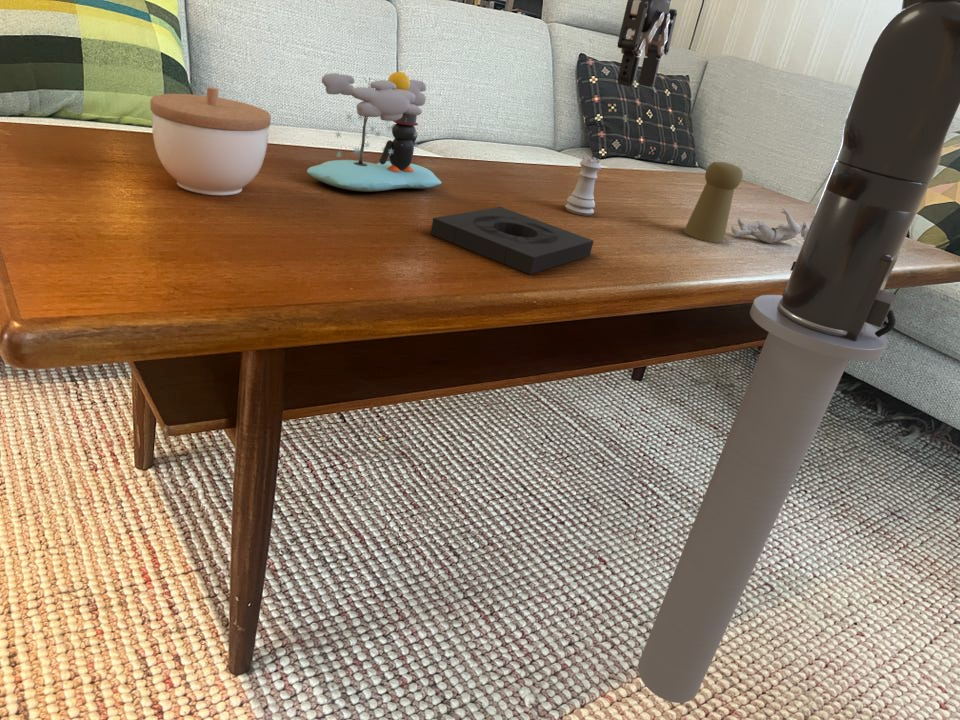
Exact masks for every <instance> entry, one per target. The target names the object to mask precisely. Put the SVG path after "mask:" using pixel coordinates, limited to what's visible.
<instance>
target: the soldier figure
mask: <svg viewBox="0 0 960 720" xmlns="http://www.w3.org/2000/svg"><path fill="white" fill-rule="evenodd" d="M780 210H782V211H781V213H782V214H784V215H786V216H785V218H786V221H787V224H778V226H774V227H770V226H769V225H768V224H766V222H764V221H763V220H757V221H754V222H750V223H745V222H744V221H743V220H742V218H741V217H738V219H737V225H738V227H739V229H740V230H739V229H737V228H735V226H734V225H731V227H730V230H731V233H732V234H733V237H734V238H739V237H740V236H743V237H745V236H752V237H754V238H756V239H757V240H760V241H762V242H764V243H767V244H772V243H777V242H778V243H779V242H784V241H785V242H786V241H789V240H792V239H794V238H796V236H798V235H799V234H800V235H801V237H802V238H803V241H804V240H805V238H806V235H807V233H808V230H809V228H810V224H809V223H808V222H806V221H803V222H802V224H798V223H796V221H795V220H794V218H793V217H792V216H791V214H790V213H789V211H788V210H787V209H786V208H784V207H780Z"/></svg>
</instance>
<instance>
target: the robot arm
mask: <svg viewBox="0 0 960 720" xmlns="http://www.w3.org/2000/svg"><path fill="white" fill-rule="evenodd" d="M671 1H672V0H627V2H626V6H625V10H624V15H623V19H622V23H621V28H620V30H619V31H620V32H619V36H618V40H617V48H618V49H620V50H621V55H622V58H621V61H620V66H619V72H618V76H617V81H616V82H617V84H618V85H621V86H627V87H633V86H634V84H635V82H636V77H637V73H638V69H639V64H640V59H641V55H642V53H643V51H644V57H643V59H642V65H641V69H640V73H639V77H638V84H639V85H640V86H643V87H649V88H650V87H654V85H655V84H656V80H657V75H658V70H659V66H660V62H661V60H663V58H664V56H667V55H668V54H669V52H670V46H671V41H672V37H673V33H674V28H675V24H676V19H677V16H678V9H674V8H671ZM959 107H960V0H902V3H901V9H900V11H899V12H898V13H897V14H896V15H895V16H893V17H892V18H891V19H890V20H889V21H888V22H887V24H886V25H885V26H884V27H883V28H882V30H881V32H880V33H879V34H878V37H877V38H876V40H875V43H874V45H873V47H872V49H871V51H870V54H869V56H868V58H867V61H866V62H865V66H864V69H863V70H862V74H861V77H860V79H859V82H858V85H857V88H856V91H855V93H854V97H853V98H852V101H851V105H850V107H849V110H848V113H847V116H846V118H845V122H844V125H843V132H842V142H841V146H840V149H839V152H838V153H837V154H838V155H837V156H836V160H835V162H834V164H833V167H832V168H831V172H830V175H829V177H828V180H827V182H826V184H825V187H824V190H823V192H822V194H821V198H820V200H819V203H818V205H817V207H816V210H815V213H814V216H813V218H812V220H811V222H810V224H809V226H810V228H809V230H808V233H807V235H806V238H805V240H804V239H803V244H802V245H801V248H800V250H799V254H798V255H797V258H796V260H795V261H793V262H792V264H791V268H790V272H791V274H790V275H789V279H788V282H787V283H786V286H785V288H784V290H783V292H782V299H781V300H780V301H779V304H778V307H777V309H778V311H779V312H780V313H781V314H782V315H783V316H785V317H786V318H788V319H789V320H791V321H793V322H795V323H797V324H799V325H801V326H804V327H806V328H809V329H811V330H814V331H817V332H820V333H824V334H828V335H832V336H837V337H843V338H847V339H850V340H852V341H857V340H858V338H859V337H860V336H862V334H863V332H864V330H865V329H866V326H867V324H870V325H871V326H873V327H878V328H880V329H877V330H878V331H876V332H875V335H876V336H877V337H880V336H882V335H884V336H885V335H886V334H888V333H890V332H891V331H892V330H893V329H894V328H895V326H896V321H897V320H896V315H895V313H894V310H892V308H893V306H894V304H895V302H896V300H897V298H898V294H895V293H892V292H889V291H886V290H884V289H885V288H886V284H887V283H888V280H889V279H890V276H891V274H892V271H893V270H894V267H895V265H896V263H897V261H898V258H899V257H900V254H901V252H900V250H901V248H902V245H903V244H904V241H905V240H906V237H907V235H908V233H909V230H910V228H911V226H912V224H913V221H914V219H915V217H916V215H917V213H918V211H919V208H920V206H921V204H922V202H923V200H924V198H925V195H926V193H927V191H928V188H929V187H930V183H931V182H932V180H933V179H934V176H935V173H936V171H937V169H938V167H939V165H940V163H941V160H942V159H941V158H942V151H943V147H944V144H945V141H946V137H947V135H948V132H949V130H950V127H951V125H952V122H953V121H954V117H955V116H956V113H957V111H958V109H959ZM886 320H887V324H886V325H885V326H883V324H884V323H885V321H886ZM882 326H883V327H882ZM881 327H882V328H881Z"/></svg>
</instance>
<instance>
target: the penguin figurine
mask: <svg viewBox="0 0 960 720" xmlns="http://www.w3.org/2000/svg"><path fill="white" fill-rule="evenodd" d="M377 79H378V77H377V78H376V79H375V80H374V81H371V78H368V80H369V81H368V82H367V80H366V79H364V81H365V82H367V84H368V85H369V87H368V86H367V87H362V86H359V87H354V86H353V85H354V83H355V78H354V77H353V76H352V75H349V74H340V73H338V72H337V73H336V72H335V73H334V72H333V73H332V72H330V73H326V74H324V75H323V76H322V78H321V83H322V84H323V86H324V87H325V93H326V94H328V95H343V96H351V97H353V98H355V99H357V100H359V102H358V103H357V104H356V114H357V115H358V117H357V119H358V120H363V126H362V132H361V133H362V134H361V144H360V148H359V146H357V147H354V149H353V150H352V153H354V155H359V160H357V159H356V160H355V159H354V160H353V159H340V157H343V156H342V154H343V152H341V150H338V152H336V155H335V157H337V158H339V159H336V160H335V159H334V160H328V161H325V162H321V163H320V164H317V165H313V166H310V167H308V168H307V169H306V172H307V174H308V176H310V177H311V178H313V179H315V180H317V181H319V182H322V183H324V184H326V185H328V186H331V187H335V188H338V189H341V190H347V191H353V192H364V193H365V192H371V193H372V192H384V191H390V190H391V191H392V190H398V189H421V190H422V189H430V188H433V187H437V186H440V185H441V184H442V181H441V180H440V179H439V178H438V177H437V176H436V175H435V174H434V172H433V171H431V170H430V169H428V168H426V167H424V166H421V165H418V164H416V163H412V162H413V159H414V158H413V157H414V152H415V150H416V148H418V147H419V144H417V143H416V141H417V138H418V137H419V133H418V131H417V129H416V126H419V124H418V123H417V117H418V116H419V115H421V114H422V113H423V110H422V109H421V106H425V104H426V100H427V98H426V95H425V94H424V93H423V92H425V91H426V90H427V86H426V83H425V82H424V81H422V80H417V79H410V78H409V76H408V75H407V74H406V73H404V72H402V71H395V72H393V73H391V74H390V75H389V76H388V79H382V80H377ZM370 81H371V82H370ZM352 84H353V85H352ZM379 117H380V120H381V121H385V122H386V123H387V124H388V123H390V122H393V123H392V124H388V126H387V128H386V129H385V131H387V132H391V134H392V137H393V138H394V139H393V140H387V141H386V142H385V145H384V147H383V148H382V154H381V156H380V158H379V162H377V163H373V162H370V161H369V162H368V161H364V151H365V147H366V148H369V146H370V145H371V143H370V142H369V141H366V139H367V138H369V137H370V135H369V136H368V134H369V133H367V132H366V128H367V122H368V119H369V118H379ZM346 120H347V121H350V120H353V119H352V114H351V113H350V112H349V113H348V114H346ZM370 132H371V133H370V134H372V133H373V132H374V133H375V137H376V138H379V137H380V136H381V135H380V134H381V132H380V131H379V130H377V132H376V127H375V126H372V127H371V126H370ZM335 138H342V136H341V133H340V131H338V132H335ZM414 149H415V150H414ZM388 158H389V159H388Z"/></svg>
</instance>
